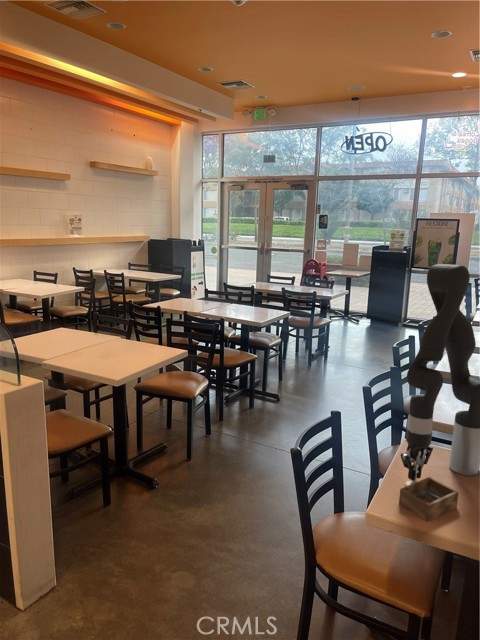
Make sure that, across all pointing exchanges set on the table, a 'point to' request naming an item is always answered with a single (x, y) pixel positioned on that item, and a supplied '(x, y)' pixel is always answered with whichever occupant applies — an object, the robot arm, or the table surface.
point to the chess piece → (415, 478)
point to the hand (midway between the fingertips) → (414, 478)
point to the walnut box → (432, 490)
